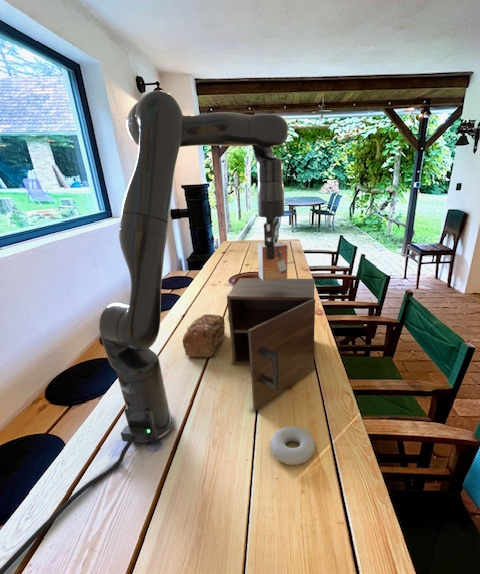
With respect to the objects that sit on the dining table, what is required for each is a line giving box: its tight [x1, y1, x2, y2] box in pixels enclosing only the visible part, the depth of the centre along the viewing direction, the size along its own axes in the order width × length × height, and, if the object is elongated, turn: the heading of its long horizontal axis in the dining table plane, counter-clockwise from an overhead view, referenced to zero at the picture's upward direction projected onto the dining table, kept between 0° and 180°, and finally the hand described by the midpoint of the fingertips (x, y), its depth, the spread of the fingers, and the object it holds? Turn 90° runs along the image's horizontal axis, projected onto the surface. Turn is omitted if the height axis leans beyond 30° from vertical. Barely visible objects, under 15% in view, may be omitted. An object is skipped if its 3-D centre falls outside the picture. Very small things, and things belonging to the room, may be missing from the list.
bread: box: [182, 313, 226, 359], centre depth 117 cm, size 19×11×10 cm, turn 172°
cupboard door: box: [248, 298, 316, 412], centre depth 87 cm, size 7×26×24 cm, turn 137°
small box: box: [257, 241, 288, 281], centre depth 99 cm, size 8×6×10 cm
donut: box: [269, 425, 316, 466], centre depth 72 cm, size 10×4×10 cm
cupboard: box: [226, 277, 316, 366], centre depth 108 cm, size 18×26×24 cm
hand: (272, 256), depth 98 cm, fingers closed on small box, 7 cm apart
